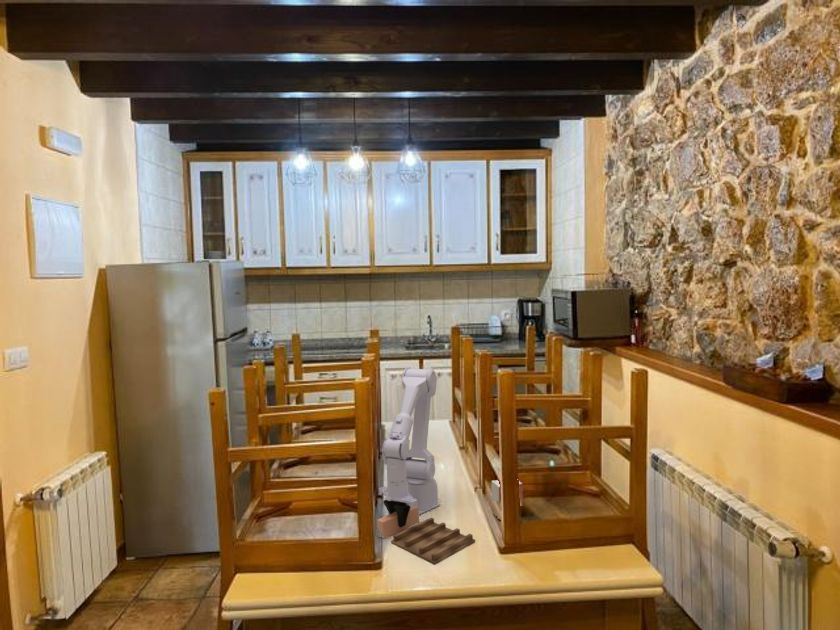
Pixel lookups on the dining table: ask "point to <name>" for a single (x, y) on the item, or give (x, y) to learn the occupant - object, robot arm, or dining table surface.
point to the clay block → (390, 522)
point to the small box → (496, 491)
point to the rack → (432, 541)
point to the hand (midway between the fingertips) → (398, 524)
